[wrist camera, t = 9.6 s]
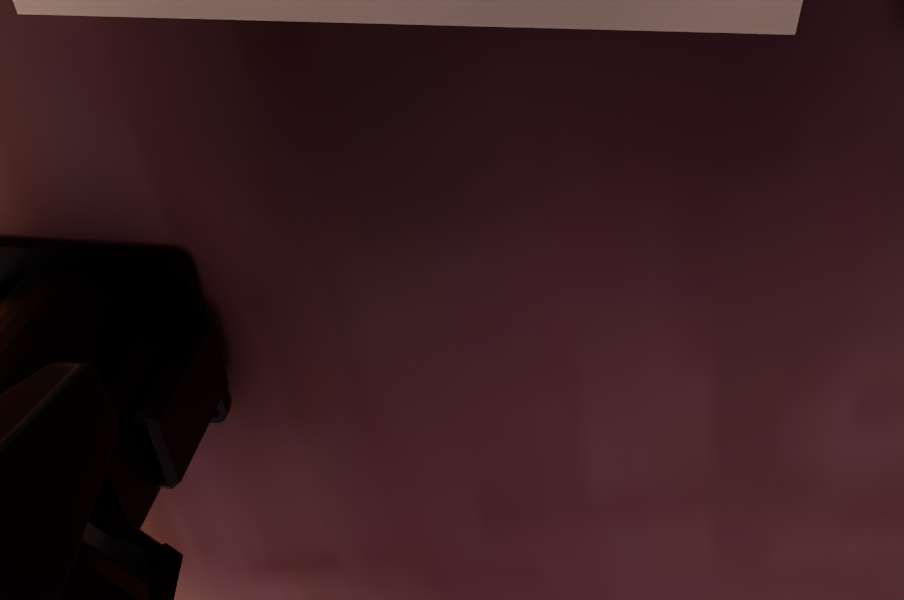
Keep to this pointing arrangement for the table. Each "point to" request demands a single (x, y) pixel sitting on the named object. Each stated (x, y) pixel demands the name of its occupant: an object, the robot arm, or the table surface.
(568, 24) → the tray
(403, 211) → the table surface
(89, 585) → the robot arm
